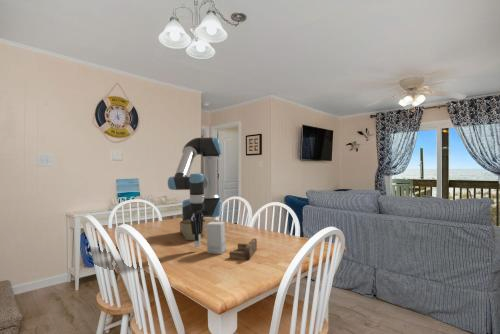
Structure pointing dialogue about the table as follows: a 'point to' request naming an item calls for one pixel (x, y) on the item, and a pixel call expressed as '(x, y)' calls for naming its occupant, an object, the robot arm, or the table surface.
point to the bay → (248, 248)
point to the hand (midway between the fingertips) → (197, 246)
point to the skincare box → (215, 237)
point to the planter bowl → (189, 229)
